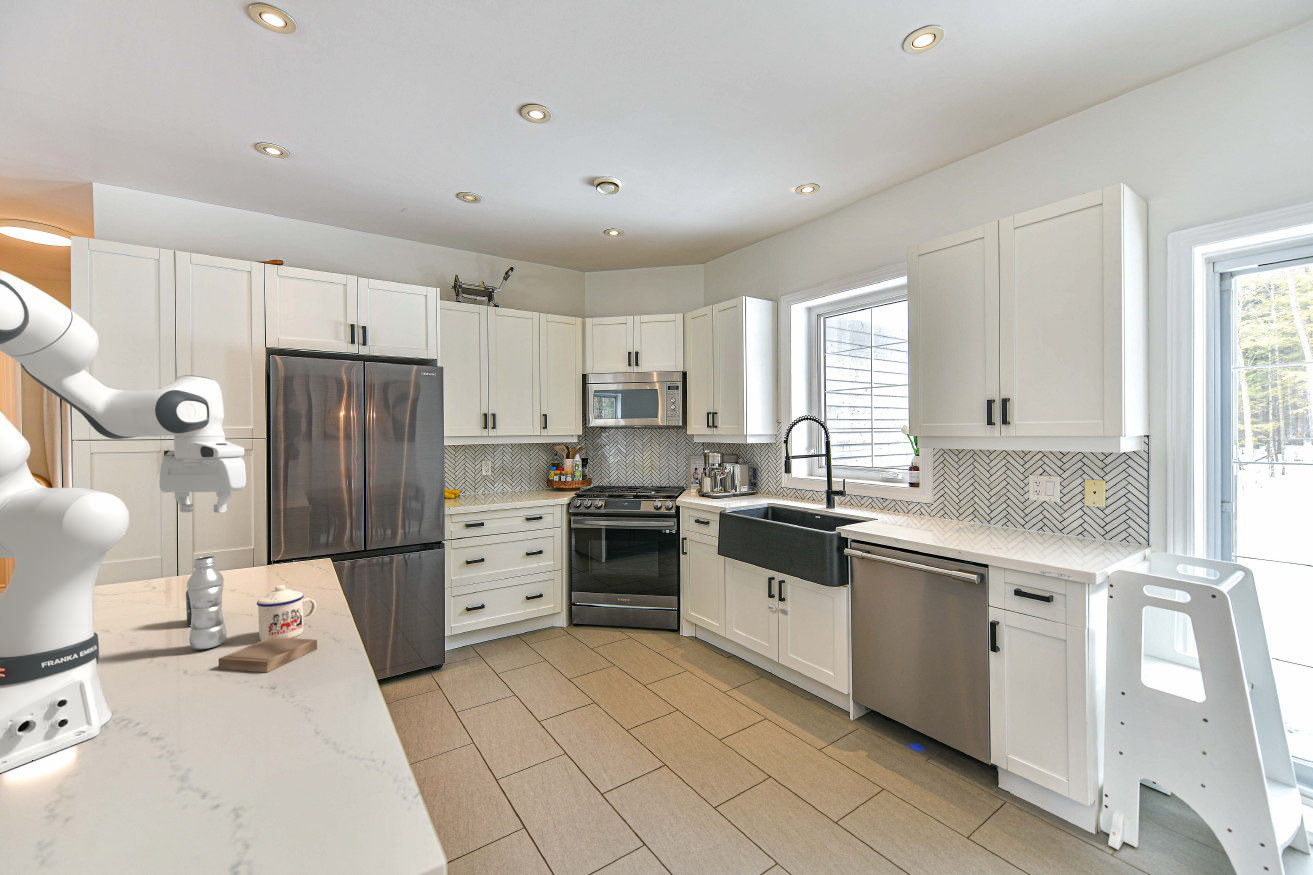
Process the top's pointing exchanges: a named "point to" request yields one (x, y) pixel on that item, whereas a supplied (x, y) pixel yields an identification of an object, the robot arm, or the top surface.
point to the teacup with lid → (282, 613)
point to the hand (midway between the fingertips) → (203, 512)
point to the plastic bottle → (206, 605)
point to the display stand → (267, 654)
